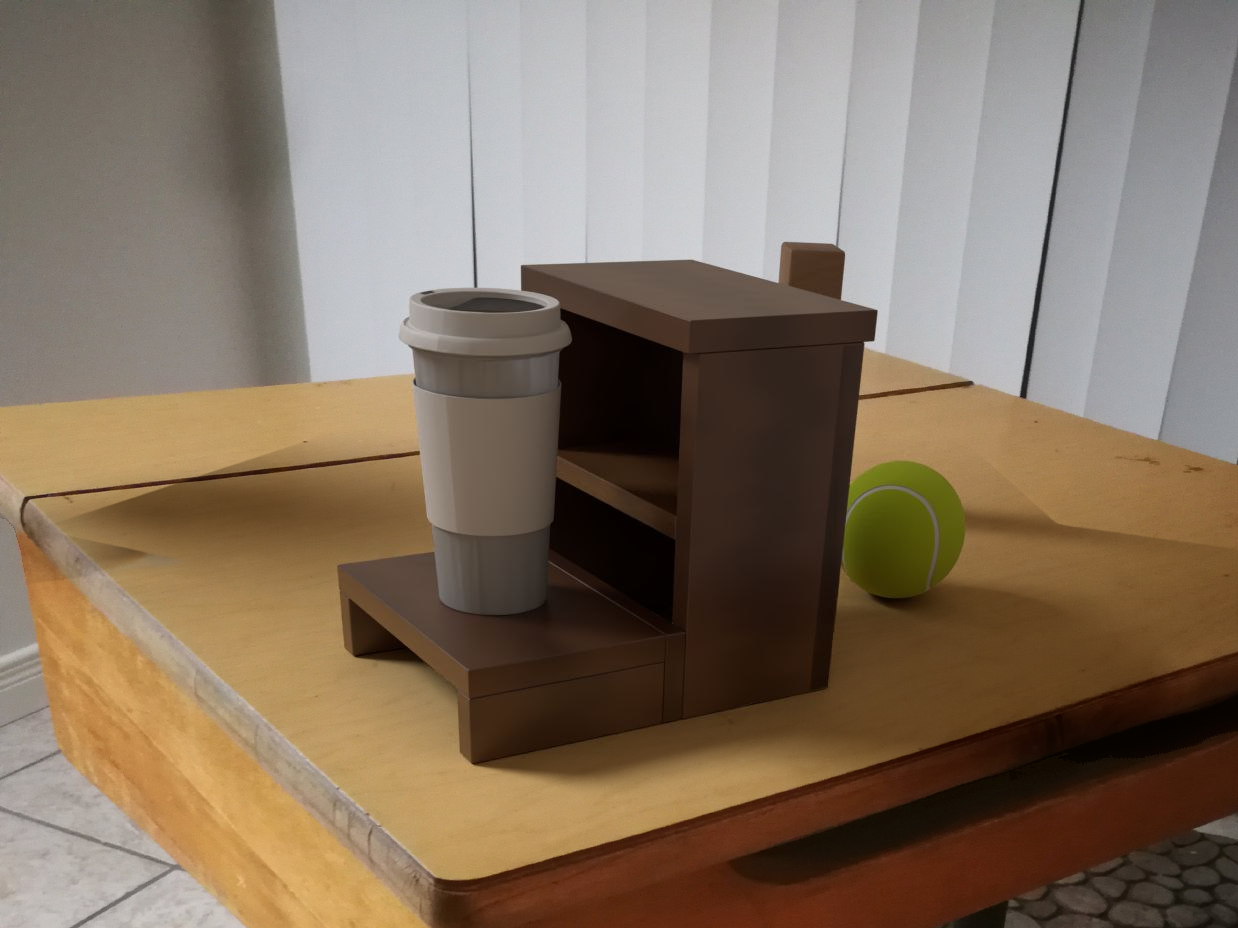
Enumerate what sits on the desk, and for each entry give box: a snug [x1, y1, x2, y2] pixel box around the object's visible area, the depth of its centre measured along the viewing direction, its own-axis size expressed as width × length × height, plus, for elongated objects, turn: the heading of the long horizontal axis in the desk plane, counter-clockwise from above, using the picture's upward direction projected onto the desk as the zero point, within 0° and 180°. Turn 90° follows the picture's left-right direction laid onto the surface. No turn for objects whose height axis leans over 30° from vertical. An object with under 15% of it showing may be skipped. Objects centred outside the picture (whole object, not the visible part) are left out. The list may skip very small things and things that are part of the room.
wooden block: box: [777, 241, 846, 300], centre depth 89 cm, size 7×3×15 cm, turn 7°
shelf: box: [336, 259, 879, 764], centre depth 62 cm, size 18×14×16 cm
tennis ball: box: [841, 460, 966, 599], centre depth 76 cm, size 7×7×7 cm
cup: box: [398, 287, 572, 615], centre depth 59 cm, size 7×7×12 cm
